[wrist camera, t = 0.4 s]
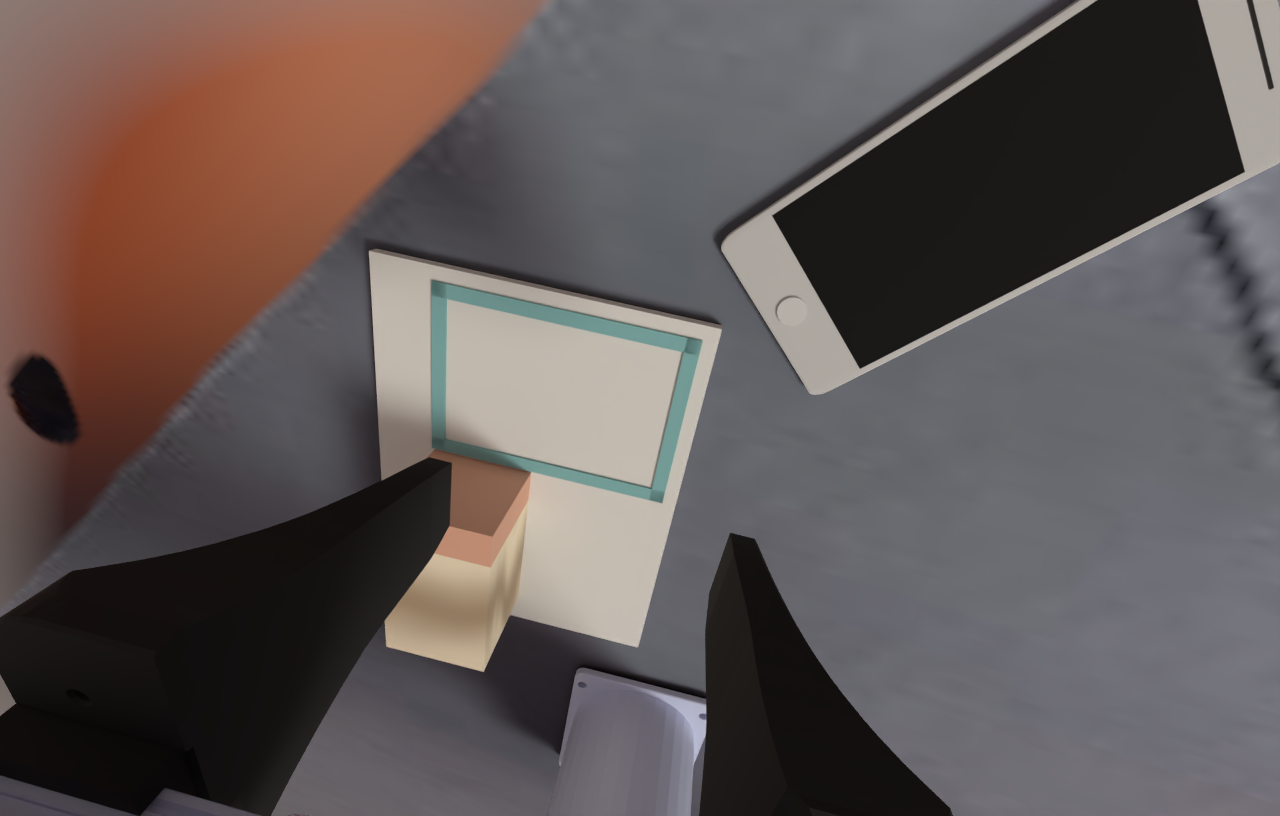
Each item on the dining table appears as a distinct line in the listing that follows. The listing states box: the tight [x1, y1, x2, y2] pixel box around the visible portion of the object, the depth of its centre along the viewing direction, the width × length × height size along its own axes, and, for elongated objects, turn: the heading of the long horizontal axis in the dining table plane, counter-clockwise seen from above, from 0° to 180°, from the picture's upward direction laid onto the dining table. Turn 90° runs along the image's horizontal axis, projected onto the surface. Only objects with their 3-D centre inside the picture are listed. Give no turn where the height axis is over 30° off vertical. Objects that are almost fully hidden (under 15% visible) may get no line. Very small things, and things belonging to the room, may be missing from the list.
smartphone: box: [721, 0, 1280, 395], centre depth 17 cm, size 7×16×1 cm, turn 125°
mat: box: [369, 249, 722, 647], centre depth 25 cm, size 18×14×1 cm
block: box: [385, 449, 531, 672], centre depth 24 cm, size 8×5×4 cm, turn 170°
